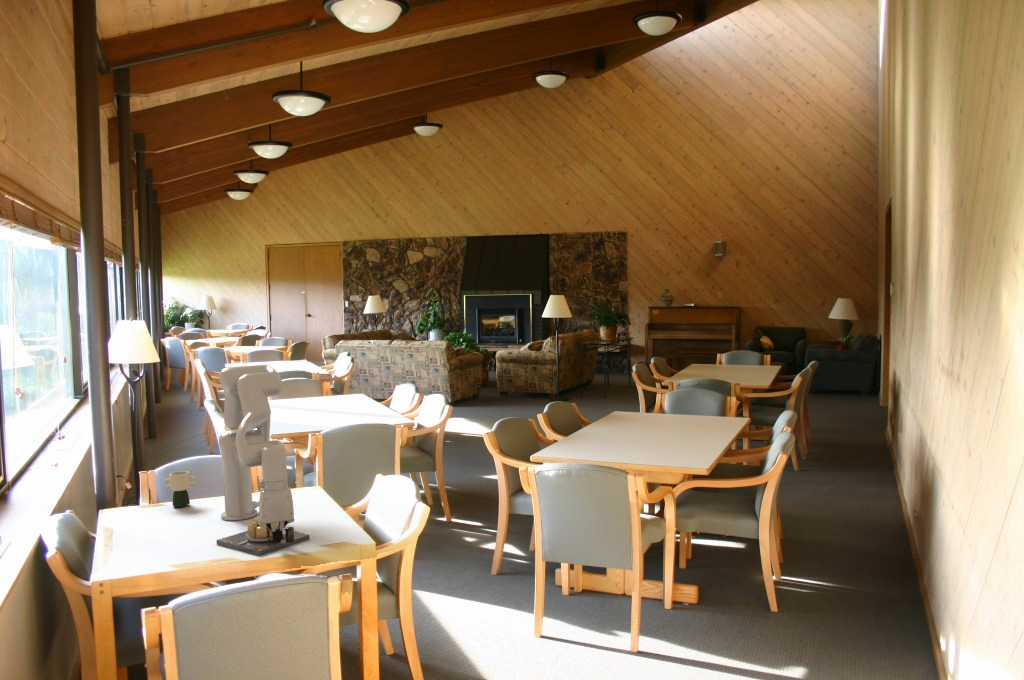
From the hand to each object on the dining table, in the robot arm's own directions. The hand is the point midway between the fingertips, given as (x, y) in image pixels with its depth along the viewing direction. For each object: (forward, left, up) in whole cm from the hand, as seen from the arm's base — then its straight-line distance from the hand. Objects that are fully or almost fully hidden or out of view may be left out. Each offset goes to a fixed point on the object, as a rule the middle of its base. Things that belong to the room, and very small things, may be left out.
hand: (277, 542), depth 270 cm
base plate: (-4, -12, -3) cm, 13 cm away
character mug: (-16, -79, -3) cm, 80 cm away
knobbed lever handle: (-4, -7, 0) cm, 9 cm away
